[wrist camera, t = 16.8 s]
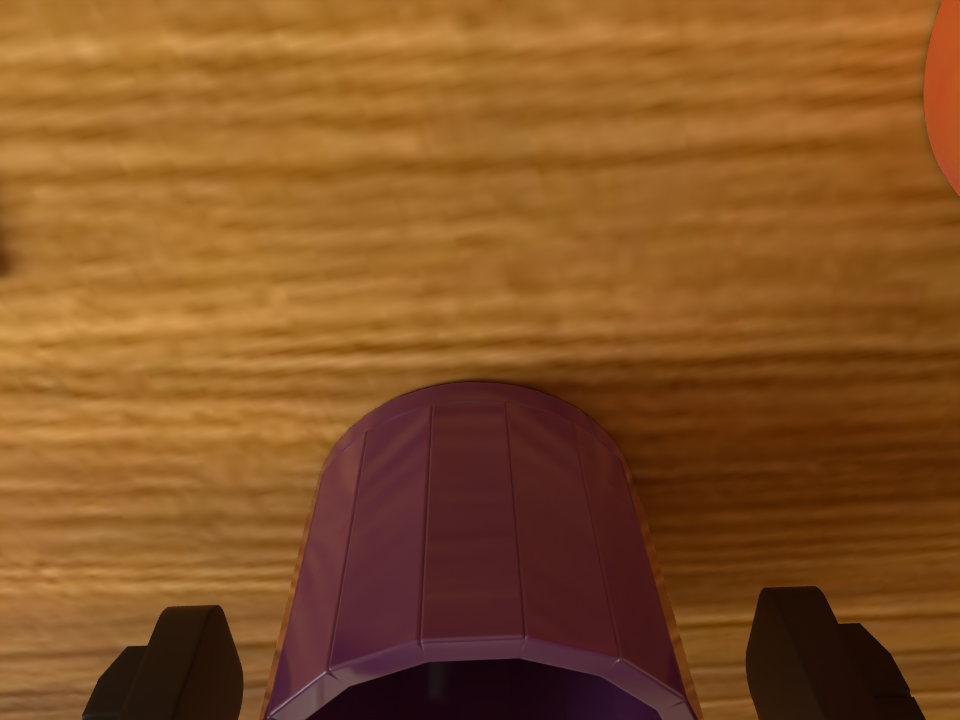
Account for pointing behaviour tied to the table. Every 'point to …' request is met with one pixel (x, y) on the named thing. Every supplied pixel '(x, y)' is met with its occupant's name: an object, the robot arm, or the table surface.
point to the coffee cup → (944, 91)
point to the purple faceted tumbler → (478, 572)
